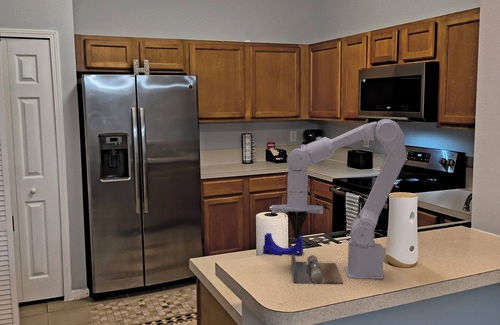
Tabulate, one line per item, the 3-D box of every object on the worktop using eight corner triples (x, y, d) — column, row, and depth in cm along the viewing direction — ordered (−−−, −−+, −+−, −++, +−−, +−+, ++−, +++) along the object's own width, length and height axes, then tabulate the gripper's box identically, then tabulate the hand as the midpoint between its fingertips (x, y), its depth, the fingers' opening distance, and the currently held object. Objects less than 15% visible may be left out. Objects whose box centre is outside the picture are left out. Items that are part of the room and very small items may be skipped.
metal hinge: (317, 264, 142) (317, 254, 142) (322, 283, 127) (323, 272, 127) (291, 264, 142) (291, 254, 142) (293, 283, 127) (293, 271, 127)
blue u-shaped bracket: (263, 255, 152) (263, 236, 151) (266, 250, 156) (266, 233, 155) (300, 258, 149) (300, 240, 148) (303, 254, 153) (303, 236, 152)
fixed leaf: (335, 265, 142) (335, 255, 141) (342, 284, 127) (343, 273, 126) (307, 265, 142) (307, 255, 142) (311, 284, 127) (311, 272, 127)
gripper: (321, 188, 140) (320, 234, 141) (271, 188, 140) (271, 233, 142) (324, 193, 133) (323, 241, 134) (272, 192, 133) (271, 240, 135)
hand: (296, 237), depth 138 cm, fingers closed
